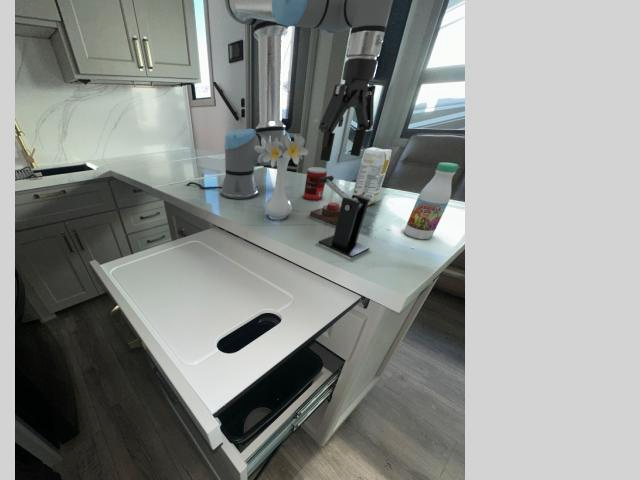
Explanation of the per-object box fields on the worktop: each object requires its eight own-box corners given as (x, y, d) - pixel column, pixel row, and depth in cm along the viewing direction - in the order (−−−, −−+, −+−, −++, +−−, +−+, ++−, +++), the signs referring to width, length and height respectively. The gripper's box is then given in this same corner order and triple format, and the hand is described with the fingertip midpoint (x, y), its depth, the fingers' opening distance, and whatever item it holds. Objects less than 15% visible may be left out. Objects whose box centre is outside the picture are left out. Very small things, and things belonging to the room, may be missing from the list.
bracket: (318, 245, 76) (328, 195, 68) (335, 238, 80) (347, 190, 72) (351, 260, 69) (367, 207, 61) (368, 251, 73) (385, 201, 65)
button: (324, 208, 90) (326, 203, 89) (331, 206, 92) (332, 201, 91) (333, 211, 88) (334, 206, 87) (340, 209, 90) (341, 204, 88)
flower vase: (264, 206, 102) (269, 129, 87) (307, 218, 93) (321, 134, 77) (243, 215, 94) (244, 133, 79) (287, 229, 85) (298, 138, 69)
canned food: (320, 195, 114) (325, 167, 107) (323, 201, 108) (329, 171, 101) (302, 194, 115) (306, 166, 108) (304, 200, 108) (308, 171, 102)
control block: (309, 217, 93) (311, 206, 91) (325, 212, 98) (328, 201, 95) (335, 227, 86) (338, 215, 84) (351, 221, 91) (354, 209, 88)
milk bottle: (402, 228, 87) (430, 160, 74) (429, 231, 84) (462, 162, 72) (404, 237, 81) (435, 165, 69) (433, 241, 79) (470, 168, 66)
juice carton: (368, 207, 102) (384, 151, 91) (348, 201, 108) (362, 148, 96) (377, 203, 106) (395, 149, 95) (358, 198, 111) (373, 146, 100)
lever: (315, 183, 71) (319, 175, 69) (327, 180, 74) (332, 172, 72) (349, 214, 67) (355, 207, 65) (361, 210, 69) (366, 203, 67)
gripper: (341, 53, 55) (321, 165, 68) (404, 61, 67) (376, 155, 80) (314, 56, 60) (300, 160, 73) (377, 63, 72) (355, 151, 85)
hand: (340, 157), depth 77 cm, fingers open, 13 cm apart
